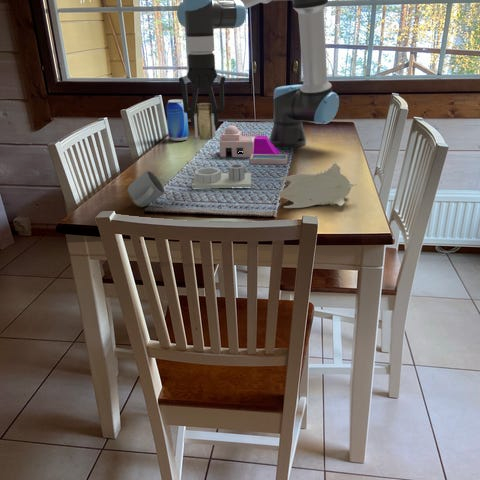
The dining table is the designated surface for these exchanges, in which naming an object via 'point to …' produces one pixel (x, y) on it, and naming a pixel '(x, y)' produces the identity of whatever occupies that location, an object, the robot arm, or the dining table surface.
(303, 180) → the beige lumpy piece
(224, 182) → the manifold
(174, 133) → the beer can
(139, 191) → the ceramic mug
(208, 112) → the cylinder
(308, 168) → the dining table surface
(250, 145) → the model house
